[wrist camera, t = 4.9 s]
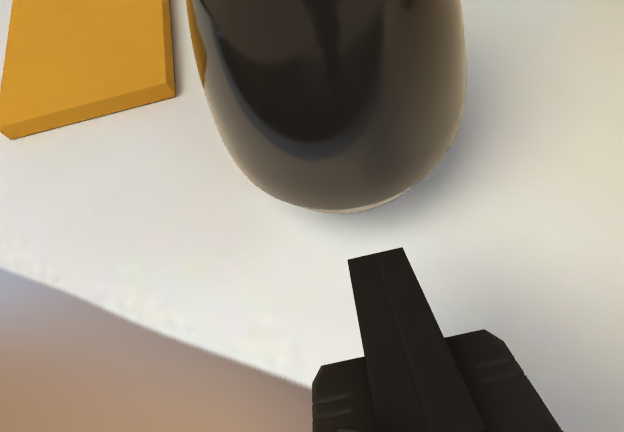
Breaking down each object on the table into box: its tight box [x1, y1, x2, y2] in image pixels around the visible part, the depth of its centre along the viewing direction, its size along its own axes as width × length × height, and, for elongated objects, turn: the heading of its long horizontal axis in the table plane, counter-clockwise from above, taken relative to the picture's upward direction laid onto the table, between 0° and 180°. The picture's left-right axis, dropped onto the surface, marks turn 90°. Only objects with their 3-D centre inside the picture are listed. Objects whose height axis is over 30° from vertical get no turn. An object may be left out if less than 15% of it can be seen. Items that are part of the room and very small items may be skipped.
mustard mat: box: [0, 0, 175, 140], centre depth 31 cm, size 14×10×1 cm
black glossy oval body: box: [186, 0, 467, 213], centre depth 17 cm, size 10×10×15 cm
